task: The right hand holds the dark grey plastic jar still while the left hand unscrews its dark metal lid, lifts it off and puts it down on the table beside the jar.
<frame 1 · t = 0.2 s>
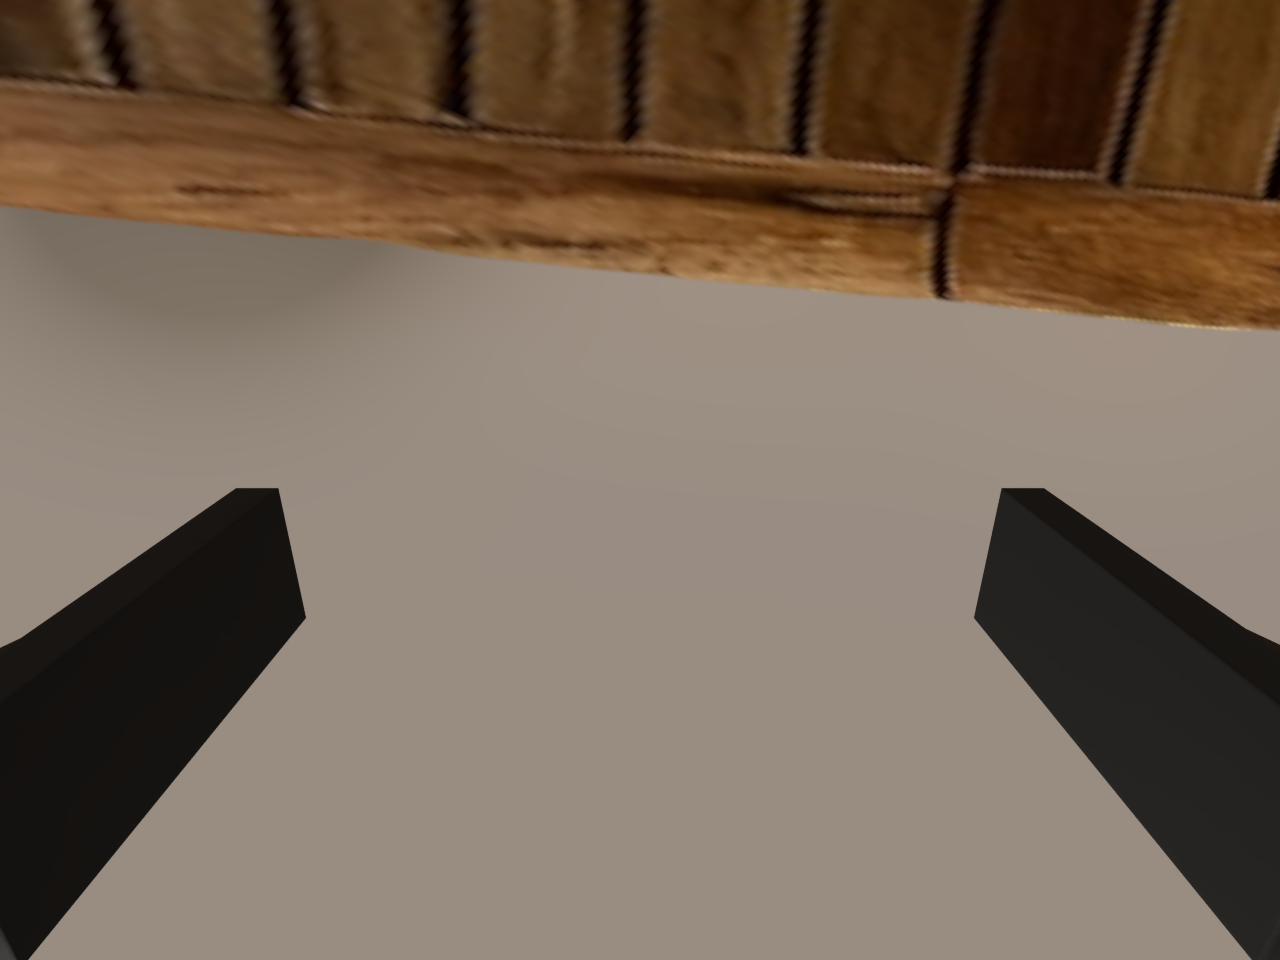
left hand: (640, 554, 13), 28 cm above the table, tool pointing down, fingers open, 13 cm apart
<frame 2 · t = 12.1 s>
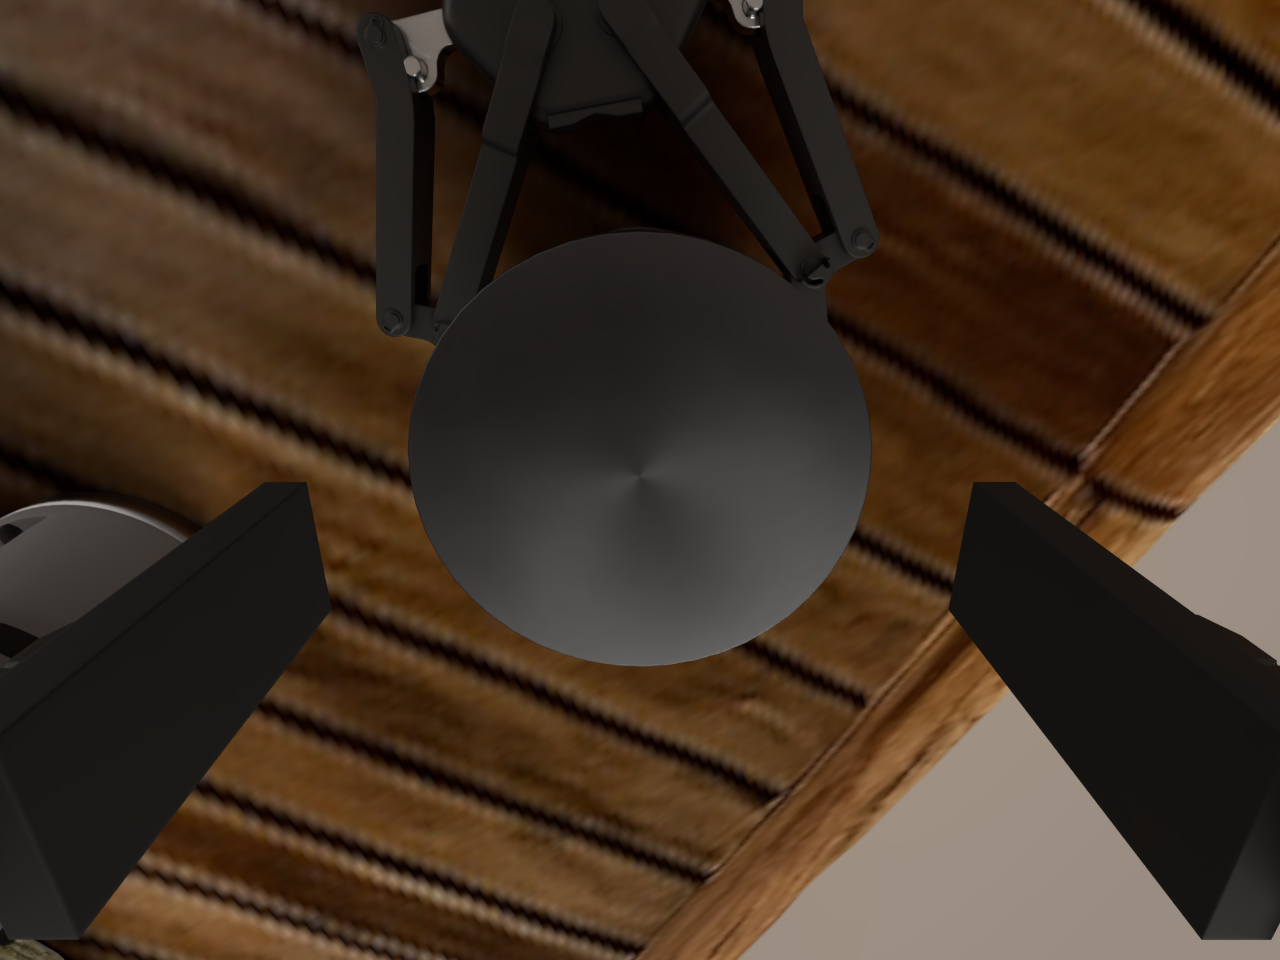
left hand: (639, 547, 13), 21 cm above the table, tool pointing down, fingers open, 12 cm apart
right hand: (656, 475, 28), fingers closed on jar, 10 cm apart
lid: (639, 471, 17), point 17 cm above the table, screwed on, not yet turned
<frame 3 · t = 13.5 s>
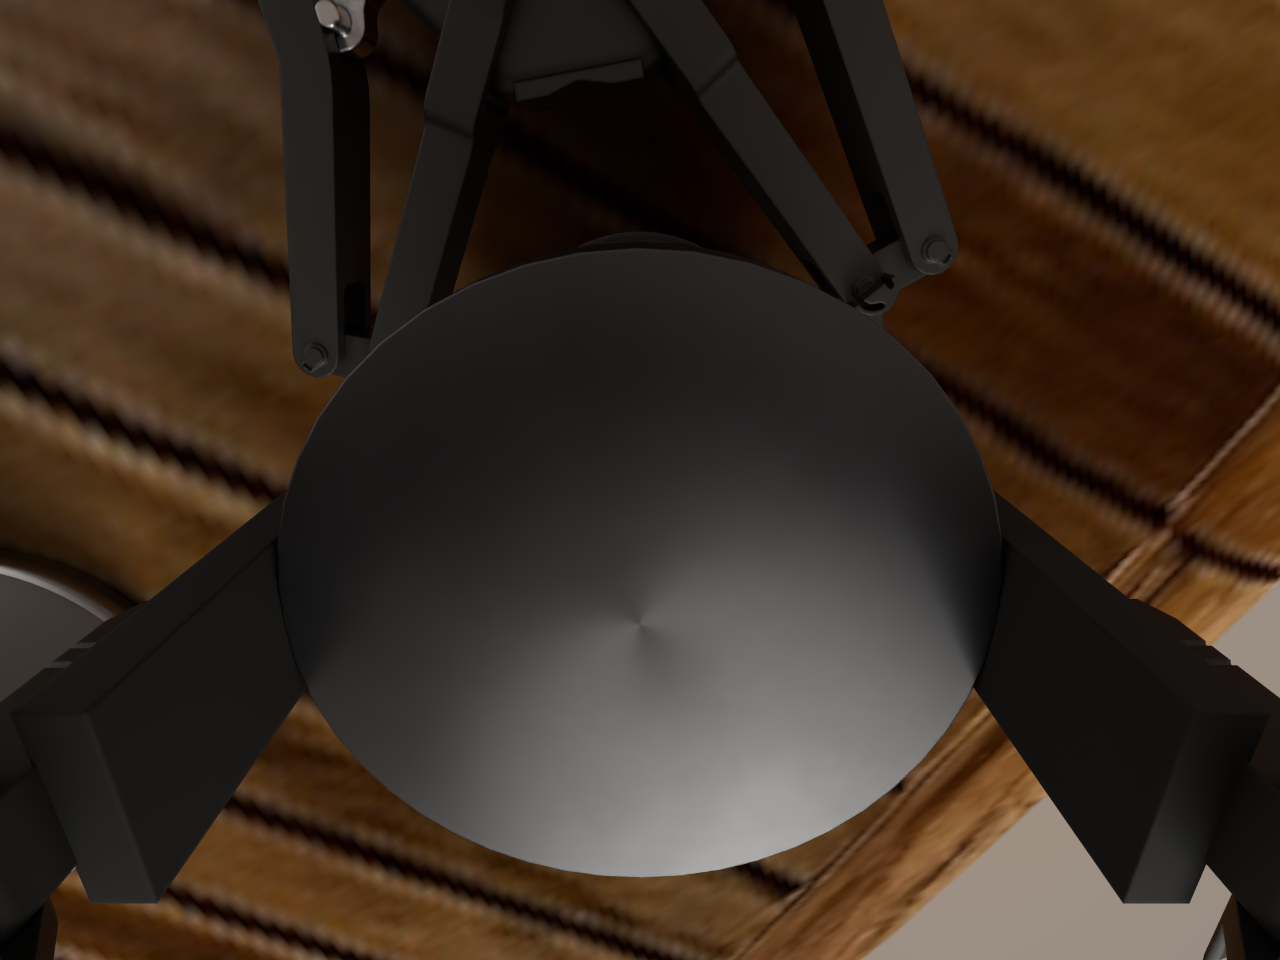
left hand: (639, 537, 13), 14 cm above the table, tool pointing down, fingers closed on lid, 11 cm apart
jar: (639, 372, 26), on the table, touching right hand
lid: (640, 612, 11), point 17 cm above the table, screwed on, not yet turned, touching left hand
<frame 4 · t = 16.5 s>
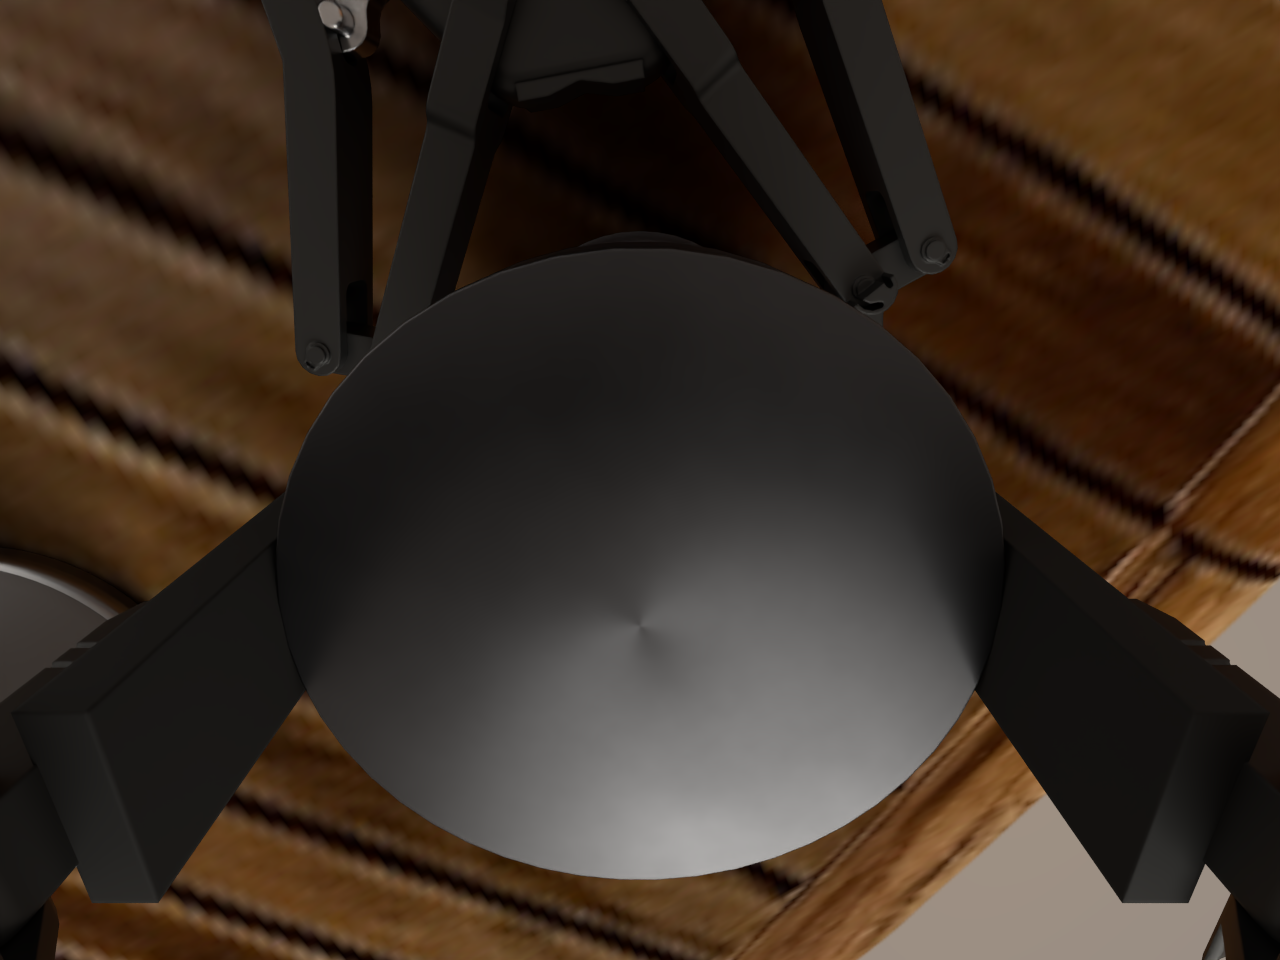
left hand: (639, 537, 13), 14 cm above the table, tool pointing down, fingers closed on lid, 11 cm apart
jar: (640, 371, 27), on the table, touching right hand
lid: (640, 613, 11), point 17 cm above the table, turned 63° so far, risen 0.2 cm, still on its thread, touching left hand
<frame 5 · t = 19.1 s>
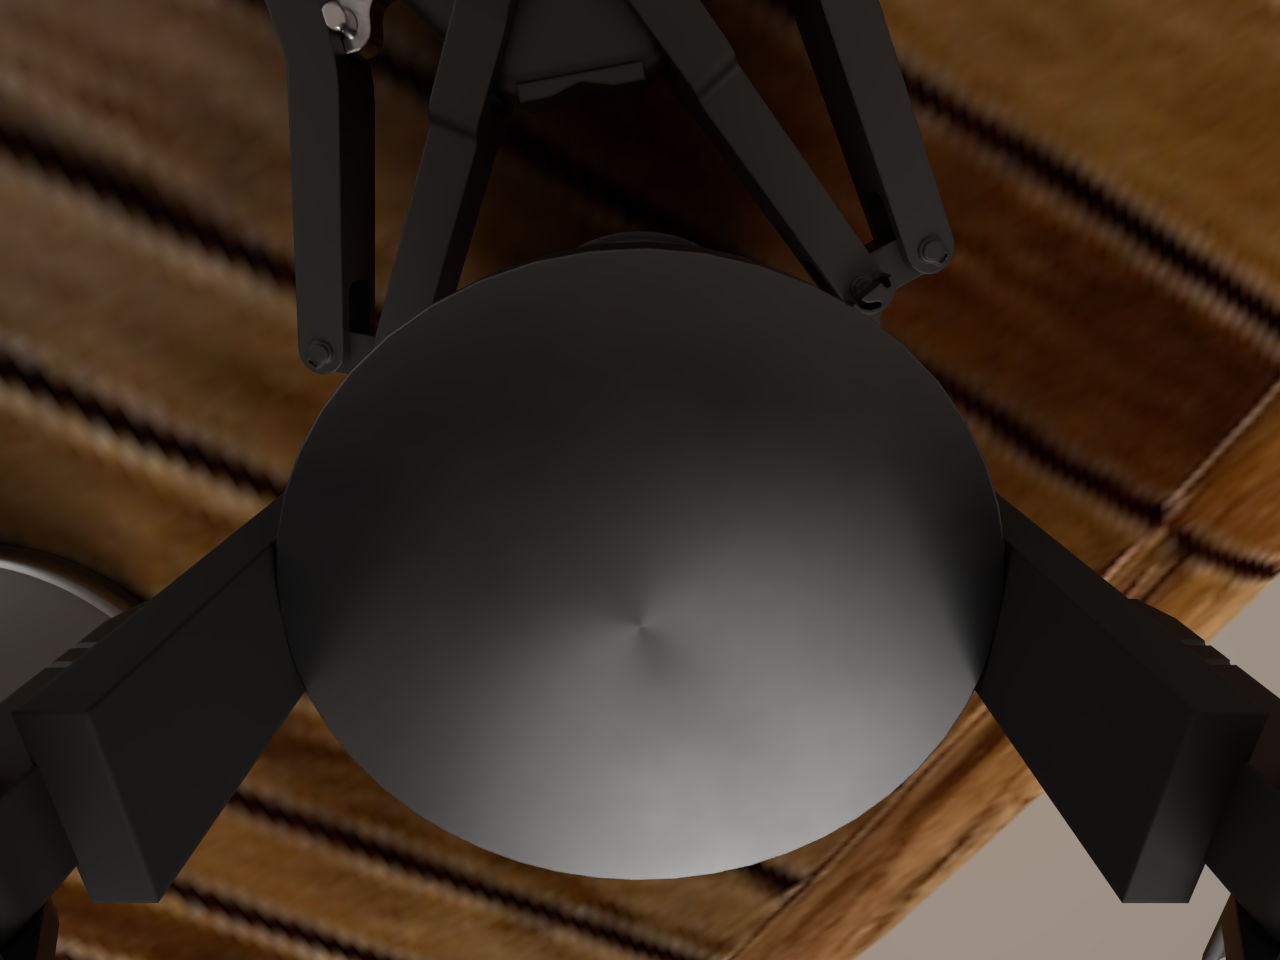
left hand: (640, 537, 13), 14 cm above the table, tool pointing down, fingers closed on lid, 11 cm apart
jar: (640, 371, 27), on the table, touching right hand
lid: (640, 613, 11), point 17 cm above the table, turned 126° so far, risen 0.3 cm, still on its thread, touching left hand
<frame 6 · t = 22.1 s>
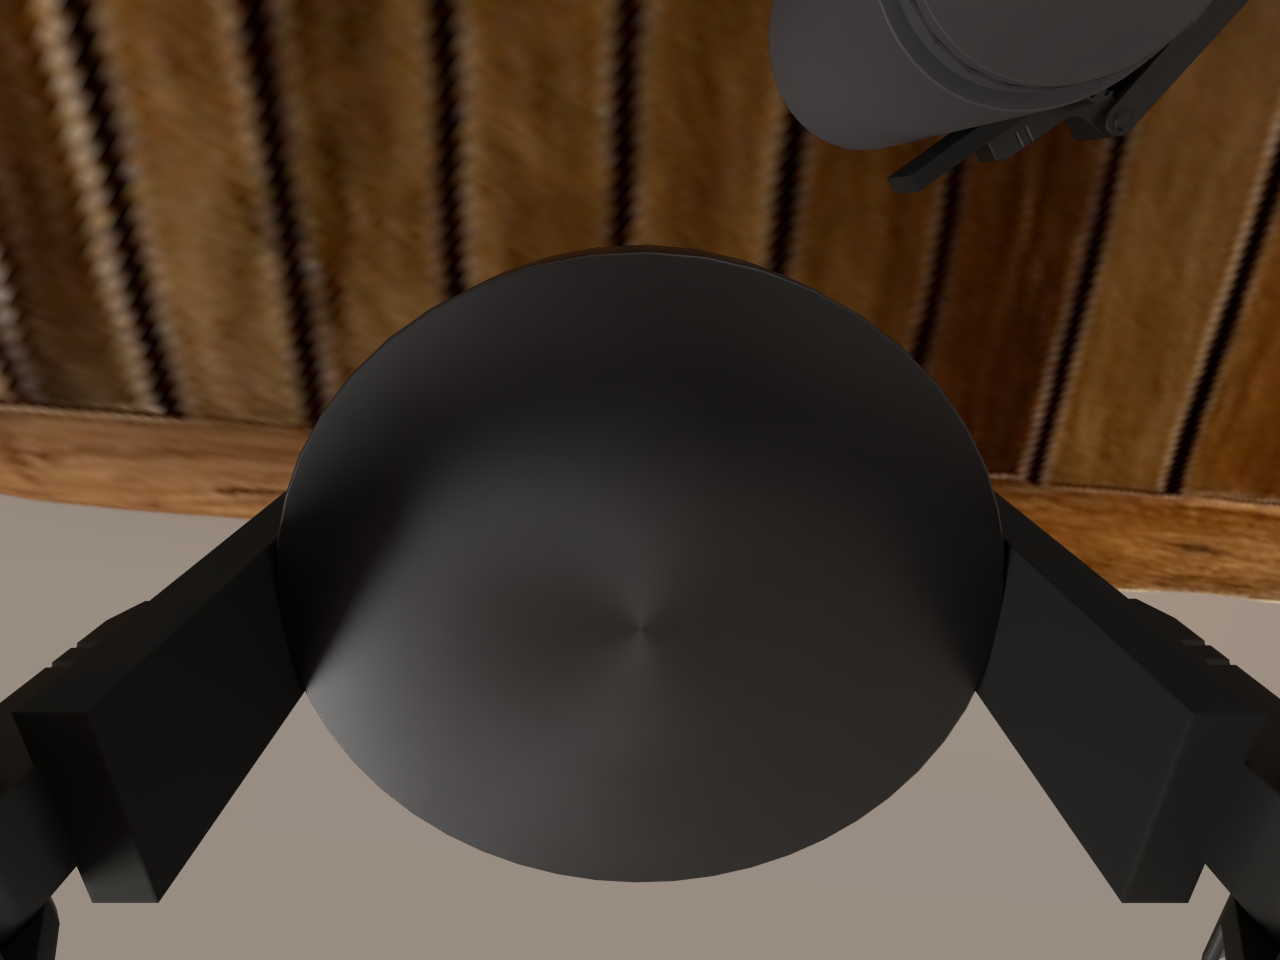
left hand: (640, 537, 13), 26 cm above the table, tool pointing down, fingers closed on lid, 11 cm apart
jar: (876, 30, 33), on the table, touching right hand
lid: (640, 616, 11), point 29 cm above the table, off its thread, touching left hand
when the left hand's fingers open (0 cm above the table, at t = 25.3 s): lid drops 2 cm, point 1 cm above the table.
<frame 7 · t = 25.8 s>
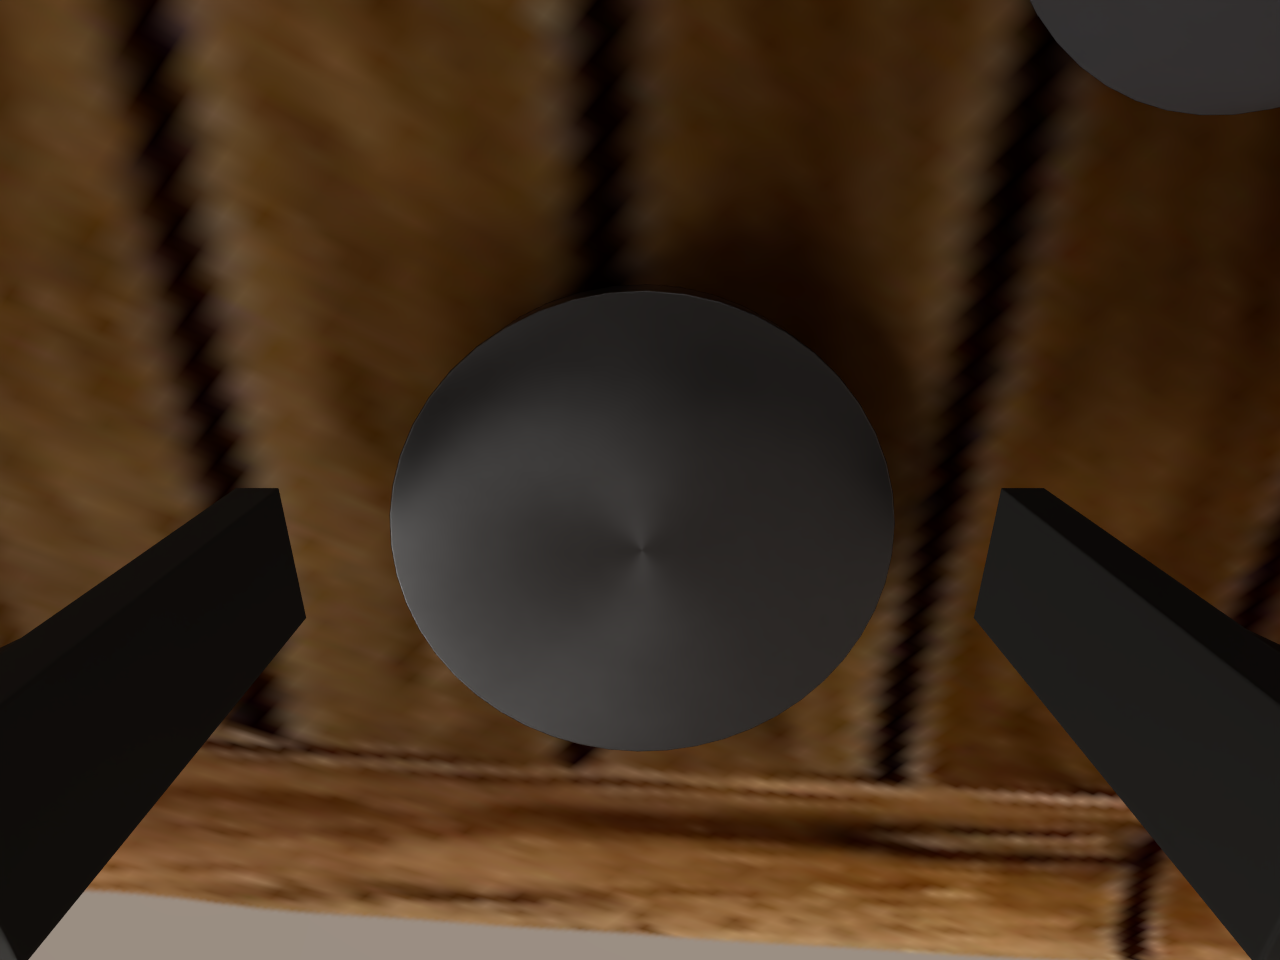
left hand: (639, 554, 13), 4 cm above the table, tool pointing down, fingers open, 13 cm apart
lid: (641, 543, 15), point 1 cm above the table, off its thread
when the right hand's fingers open (7 cm above the table, at t = 26.3 s): jar stays where it is, on the table.
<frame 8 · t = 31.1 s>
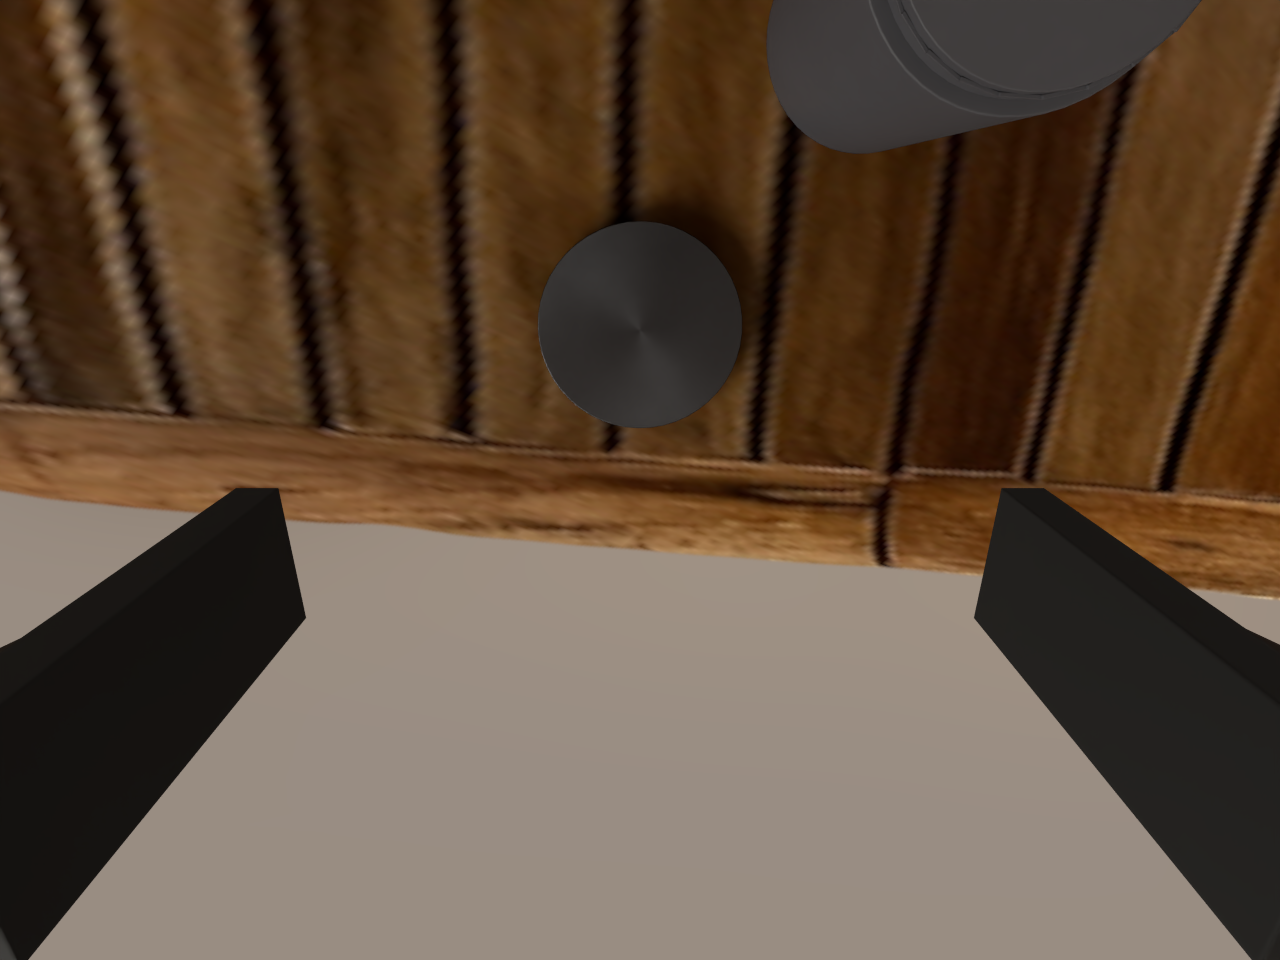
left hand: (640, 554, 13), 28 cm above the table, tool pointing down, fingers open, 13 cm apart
jar: (872, 36, 33), on the table
lid: (640, 329, 37), point 1 cm above the table, off its thread
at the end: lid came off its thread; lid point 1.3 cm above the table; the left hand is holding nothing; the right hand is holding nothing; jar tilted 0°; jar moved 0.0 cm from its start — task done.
